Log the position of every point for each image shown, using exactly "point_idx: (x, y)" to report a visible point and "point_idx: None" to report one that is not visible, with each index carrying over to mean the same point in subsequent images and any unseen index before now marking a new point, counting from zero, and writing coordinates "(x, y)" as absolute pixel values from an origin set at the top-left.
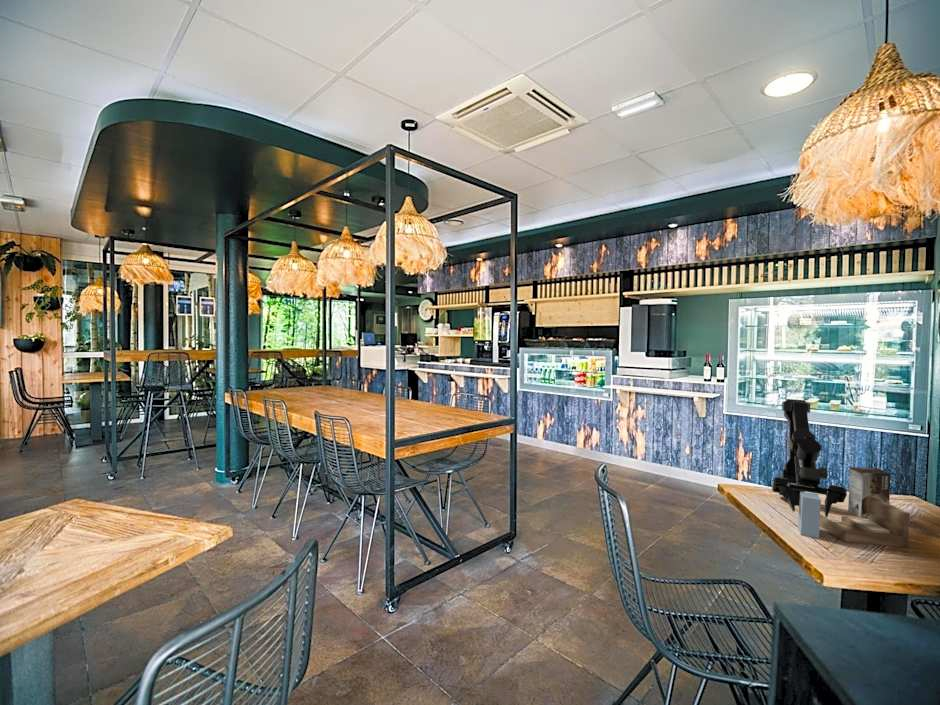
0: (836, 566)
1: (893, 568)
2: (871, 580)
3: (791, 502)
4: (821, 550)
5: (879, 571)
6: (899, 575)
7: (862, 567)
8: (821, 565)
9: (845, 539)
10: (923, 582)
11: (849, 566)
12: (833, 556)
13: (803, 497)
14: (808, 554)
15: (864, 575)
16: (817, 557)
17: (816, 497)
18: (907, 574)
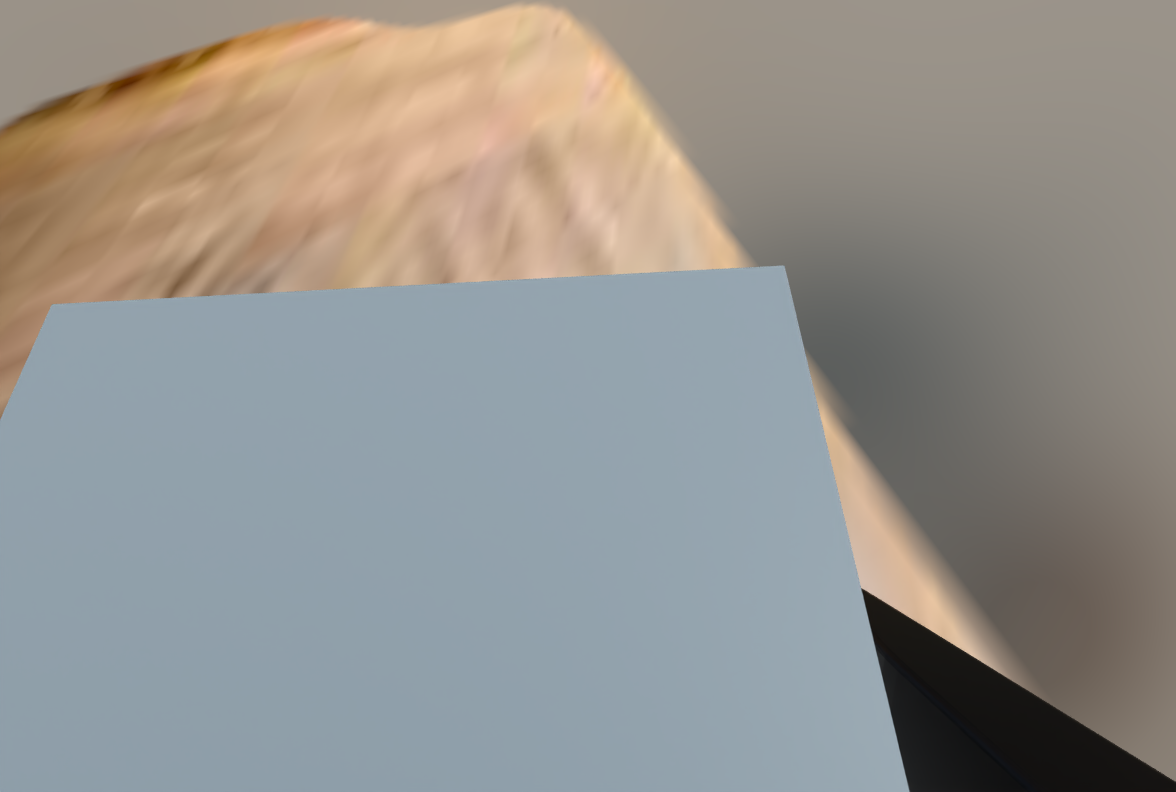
0: (473, 84)
1: (82, 240)
2: (334, 27)
3: (1024, 699)
4: (512, 275)
5: (220, 148)
6: (115, 157)
7: (308, 149)
8: (559, 55)
9: None
10: (18, 139)
11: (390, 122)
12: (448, 215)
13: (751, 277)
14: (618, 156)
15: (346, 60)
16: (564, 142)
17: (63, 652)
18: (43, 196)
